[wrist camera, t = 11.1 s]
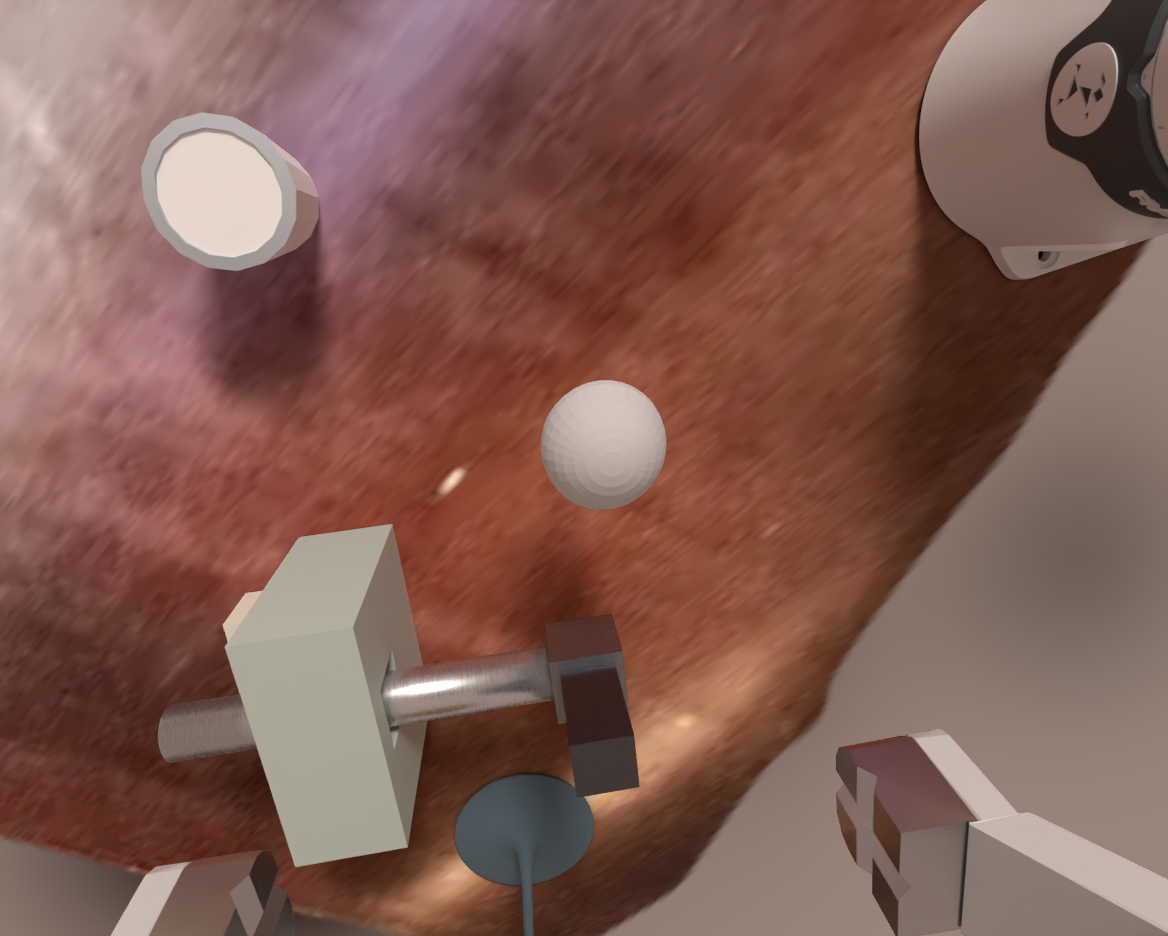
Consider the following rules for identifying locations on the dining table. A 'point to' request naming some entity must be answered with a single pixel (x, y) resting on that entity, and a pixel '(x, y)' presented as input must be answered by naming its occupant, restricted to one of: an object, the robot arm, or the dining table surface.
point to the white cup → (226, 193)
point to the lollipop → (603, 445)
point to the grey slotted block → (333, 694)
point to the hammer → (475, 702)
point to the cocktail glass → (524, 832)
